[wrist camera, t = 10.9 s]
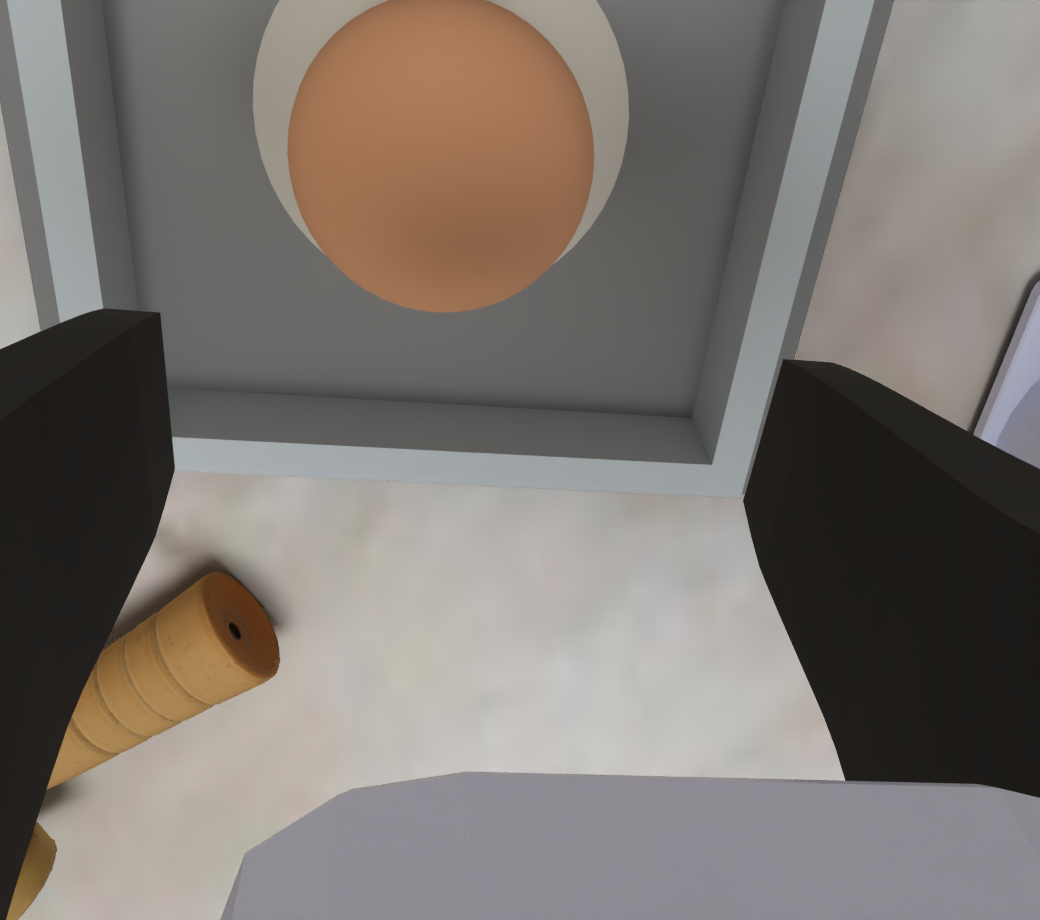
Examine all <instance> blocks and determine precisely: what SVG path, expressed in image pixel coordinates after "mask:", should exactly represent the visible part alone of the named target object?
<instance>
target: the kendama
mask: <svg viewBox="0 0 1040 920" xmlns="http://www.w3.org/2000/svg"><path fill="white" fill-rule="evenodd" d="M279 663H280V657H279V646H278V641H277V638H276V634H275V631H274V628H273V626H272V624H271V622H270V620H269V618H268V616H267V614H266V612H265V611H264V609H263V607H262V605H261V604H260V603H259V602H258V601H257V599H256V598H255V597H254V595H253V594H252V593H251V592H250V591H249V590H248V589H247V588H246V587H244V586H243V584H242V583H240V582H239V581H238V580H236V579H234V578H233V577H231V576H230V575H228V574H226V573H222V572H212V573H209V574H208V575H206V576H204V577H203V578H201V579H200V580H199V581H197V582H196V583H195V584H193V585H192V586H191V587H189V588H188V589H186V590H185V591H184V592H183V593H181V594H180V595H179V596H177V597H176V598H175V599H173V600H172V601H171V602H169V603H168V604H167V605H166V606H164V607H163V608H162V609H161V610H160V611H158V612H156V613H154V614H153V615H152V616H150V617H149V618H147V619H146V620H145V621H143V622H142V623H141V624H139V625H138V626H137V627H135V628H134V629H133V630H132V631H131V632H129V633H127V634H125V635H124V636H122V637H121V638H120V639H118V640H117V641H115V642H114V643H112V644H111V645H110V646H108V647H107V648H106V649H105V650H104V651H102V652H101V653H100V655H99V657H98V659H97V662H96V664H95V666H94V668H93V670H92V672H91V674H90V676H89V678H88V680H87V683H86V685H85V687H84V689H83V691H82V693H81V696H80V698H79V701H78V703H77V706H76V708H75V710H74V713H73V715H72V718H71V720H70V722H69V725H68V727H67V730H66V733H65V736H64V739H63V742H62V745H61V748H60V751H59V754H58V757H57V760H56V763H55V766H54V769H53V772H52V775H51V778H50V781H49V784H48V787H47V789H50V788H52V787H54V786H56V785H58V784H61V783H63V782H65V781H67V780H69V779H71V778H73V777H75V776H77V775H79V774H81V773H83V772H85V771H87V770H89V769H92V768H94V767H96V766H98V765H100V764H102V763H104V762H106V761H107V760H109V759H111V758H113V757H115V756H116V755H118V754H120V753H121V752H124V751H127V750H129V749H131V748H133V747H134V746H136V745H138V744H140V743H142V742H144V741H146V740H148V739H149V738H151V737H152V736H154V735H157V734H160V733H162V732H164V731H165V730H167V729H169V728H172V727H174V726H175V725H177V724H179V723H181V722H182V721H184V720H187V719H189V718H191V717H193V716H195V715H197V714H199V713H201V712H203V711H205V710H207V709H209V708H211V707H212V706H213V705H215V704H220V703H222V702H224V701H226V700H228V699H230V698H233V697H235V696H237V695H239V694H241V693H243V692H246V691H248V690H250V689H252V688H254V687H256V686H258V685H261V684H263V683H265V682H266V681H268V680H269V679H270V678H272V677H273V676H275V674H276V673H277V670H278V668H279ZM56 852H57V848H56V844H55V841H54V840H53V839H51V838H50V836H49V835H48V834H47V833H46V832H45V831H44V829H43V828H42V827H41V826H40V824H39V823H38V822H36V823H35V827H34V830H33V833H32V836H31V840H30V843H29V846H28V849H27V852H26V856H25V859H24V862H23V865H22V869H21V872H20V875H19V878H18V881H17V885H16V888H15V891H14V894H13V897H12V901H11V904H10V908H9V911H8V915H7V918H6V920H18V919H19V918H20V917H21V916H22V915H23V914H24V912H25V911H26V910H27V908H28V907H29V906H30V905H31V904H32V902H33V901H34V900H35V898H36V897H37V895H38V893H39V892H40V891H41V889H42V888H43V886H44V884H45V882H46V880H47V878H48V876H49V874H50V872H51V870H52V867H53V864H54V860H55V855H56Z"/></svg>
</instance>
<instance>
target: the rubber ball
mask: <svg viewBox="0 0 1040 920" xmlns="http://www.w3.org/2000/svg"><path fill="white" fill-rule="evenodd" d="M287 155H288V166H289V174H290V179H291V183H292V188H293V192H294V196H295V200H296V202H297V205H298V208H299V211H300V213H301V216H302V218H303V220H304V222H305V224H306V226H307V228H308V230H309V232H310V234H311V235H312V237H313V238H314V240H315V241H316V243H317V244H318V246H319V247H320V249H321V250H322V251H323V252H324V253H325V255H326V256H327V257H328V258H329V259H330V260H331V261H332V263H333V264H334V265H335V266H336V267H337V268H338V269H339V270H341V271H342V272H343V273H344V274H345V275H346V276H347V277H348V278H349V279H351V280H352V281H353V282H355V283H356V284H358V285H359V286H360V287H362V288H363V289H365V290H366V291H368V292H370V293H372V294H374V295H376V296H378V297H379V298H381V299H383V300H386V301H389V302H391V303H394V304H396V305H399V306H403V307H407V308H411V309H415V310H420V311H428V312H461V311H470V310H474V309H478V308H482V307H487V306H489V305H492V304H495V303H497V302H500V301H503V300H505V299H507V298H509V297H511V296H513V295H515V294H516V293H518V292H520V291H522V290H523V289H524V288H526V287H527V286H529V285H530V284H532V283H533V282H534V281H536V280H537V279H538V278H539V277H540V276H541V275H542V274H543V273H544V272H546V271H547V270H548V269H549V268H550V267H551V266H552V265H553V263H554V262H555V261H556V260H557V259H558V258H559V256H560V255H561V254H562V253H563V252H564V250H565V249H566V247H567V246H568V244H569V242H570V241H571V239H572V238H573V236H574V234H575V232H576V230H577V228H578V226H579V224H580V222H581V220H582V217H583V214H584V211H585V208H586V205H587V202H588V199H589V194H590V189H591V184H592V180H593V169H594V142H593V133H592V128H591V122H590V117H589V113H588V110H587V107H586V104H585V101H584V98H583V94H582V92H581V90H580V88H579V85H578V83H577V81H576V79H575V77H574V75H573V73H572V71H571V70H570V68H569V67H568V65H567V64H566V62H565V61H564V59H563V58H562V56H561V55H560V54H559V52H558V51H557V50H556V49H555V48H554V47H553V45H552V44H551V43H550V42H549V41H548V40H547V39H546V38H545V37H544V36H543V35H542V34H541V33H540V32H538V31H537V30H536V29H535V28H534V27H533V26H532V25H530V24H529V23H528V22H526V21H525V20H523V19H522V18H520V17H519V16H517V15H516V14H514V13H513V12H511V11H509V10H507V9H505V8H503V7H501V6H499V5H497V4H495V3H493V2H490V1H487V0H388V1H385V2H383V3H381V4H378V5H376V6H374V7H371V8H369V9H368V10H366V11H365V12H363V13H361V14H360V15H358V16H356V17H355V18H353V19H352V20H350V21H349V22H348V23H347V24H345V25H344V26H343V27H342V28H341V29H339V30H338V31H337V32H336V33H335V34H334V35H333V36H332V37H331V38H330V39H329V40H328V41H327V43H326V44H325V45H324V46H323V47H322V48H321V49H320V51H319V52H318V54H317V55H316V57H315V58H314V60H313V61H312V63H311V64H310V66H309V67H308V69H307V71H306V73H305V75H304V78H303V80H302V82H301V84H300V86H299V89H298V92H297V95H296V98H295V102H294V105H293V108H292V112H291V117H290V123H289V129H288V146H287Z"/></svg>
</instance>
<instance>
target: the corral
mask: <svg viewBox="0 0 1040 920" xmlns="http://www.w3.org/2000/svg"><path fill="white" fill-rule="evenodd" d="M385 1H388V0H0V104H1V109H2V115H3V121H4V126H5V132H6V137H7V143H8V149H9V154H10V160H11V166H12V171H13V177H14V183H15V188H16V194H17V199H18V205H19V211H20V216H21V222H22V228H23V233H24V239H25V245H26V250H27V256H28V261H29V267H30V273H31V278H32V284H33V290H34V295H35V301H36V307H37V312H38V318H39V324H40V329H41V331H43V330H45V329H48V328H50V327H52V326H55V325H57V324H59V323H62V322H64V321H66V320H69V319H71V318H74V317H77V316H79V315H82V314H85V313H88V312H91V311H95V310H99V309H103V308H106V309H120V310H133V311H147V312H160V315H161V325H162V336H163V346H164V357H165V368H166V378H167V389H168V399H169V410H170V421H171V431H172V442H173V453H174V463H175V470H174V471H187V472H208V473H229V474H250V475H271V476H291V477H312V478H333V479H354V480H375V481H396V482H416V483H437V484H458V485H479V486H500V487H521V488H541V489H562V490H583V491H604V492H625V493H646V494H666V495H687V496H708V497H729V498H741V495H742V494H745V493H746V489H747V485H748V482H749V478H750V475H751V471H752V468H753V464H754V461H755V457H756V453H757V450H758V446H759V443H760V439H761V436H762V432H763V429H764V425H765V422H766V418H767V414H768V411H769V407H770V404H771V400H772V397H773V393H774V390H775V386H776V382H777V379H778V375H779V372H780V368H781V365H782V361H783V359H789V360H794V357H795V353H796V350H797V346H798V343H799V339H800V335H801V332H802V328H803V325H804V321H805V318H806V314H807V310H808V307H809V303H810V300H811V296H812V292H813V289H814V285H815V282H816V278H817V274H818V271H819V267H820V264H821V260H822V257H823V253H824V249H825V246H826V242H827V239H828V235H829V231H830V228H831V224H832V221H833V217H834V214H835V210H836V206H837V203H838V199H839V196H840V192H841V188H842V185H843V181H844V178H845V174H846V170H847V167H848V163H849V160H850V156H851V153H852V149H853V145H854V142H855V138H856V135H857V131H858V127H859V124H860V120H861V117H862V113H863V109H864V106H865V102H866V99H867V95H868V92H869V88H870V84H871V81H872V77H873V74H874V70H875V66H876V63H877V59H878V56H879V52H880V49H881V45H882V41H883V38H884V34H885V31H886V27H887V23H888V20H889V16H890V13H891V9H892V5H893V2H894V0H487V1H490V2H493V3H495V4H497V5H499V6H501V7H503V8H505V9H507V10H509V11H511V12H513V13H514V14H516V15H517V16H519V17H520V18H522V19H523V20H525V21H526V22H528V23H529V24H530V25H532V26H533V27H534V28H535V29H536V30H537V31H538V32H540V33H541V34H542V35H543V36H544V37H545V38H546V39H547V40H548V41H549V42H550V43H551V44H552V45H553V47H554V48H555V49H556V50H557V51H558V52H559V54H560V55H561V56H562V58H563V59H564V61H565V62H566V64H567V65H568V67H569V68H570V70H571V71H572V73H573V75H574V77H575V79H576V81H577V83H578V85H579V88H580V90H581V92H582V94H583V98H584V101H585V104H586V107H587V110H588V113H589V117H590V122H591V128H592V133H593V142H594V169H593V180H592V184H591V189H590V194H589V199H588V202H587V205H586V208H585V211H584V214H583V217H582V220H581V222H580V224H579V226H578V228H577V230H576V232H575V234H574V236H573V238H572V239H571V241H570V242H569V244H568V246H567V247H566V249H565V250H564V252H563V253H562V254H561V255H560V256H559V258H558V259H557V260H556V261H555V262H554V263H553V265H552V266H551V267H550V268H549V269H548V270H547V271H546V272H544V273H543V274H542V275H541V276H540V277H539V278H538V279H537V280H536V281H534V282H533V283H532V284H530V285H529V286H527V287H526V288H524V289H523V290H522V291H520V292H518V293H516V294H515V295H513V296H511V297H509V298H507V299H505V300H503V301H500V302H497V303H495V304H492V305H489V306H487V307H482V308H478V309H474V310H470V311H461V312H428V311H420V310H415V309H411V308H407V307H403V306H399V305H396V304H394V303H391V302H389V301H386V300H383V299H381V298H379V297H378V296H376V295H374V294H372V293H370V292H368V291H366V290H365V289H363V288H362V287H360V286H359V285H358V284H356V283H355V282H353V281H352V280H351V279H349V278H348V277H347V276H346V275H345V274H344V273H343V272H342V271H341V270H339V269H338V268H337V267H336V266H335V265H334V264H333V263H332V261H331V260H330V259H329V258H328V257H327V256H326V255H325V253H324V252H323V251H322V250H321V249H320V247H319V246H318V244H317V243H316V241H315V240H314V238H313V237H312V235H311V234H310V232H309V230H308V228H307V226H306V224H305V222H304V220H303V218H302V216H301V213H300V211H299V208H298V205H297V202H296V200H295V196H294V192H293V188H292V183H291V179H290V174H289V166H288V155H287V146H288V129H289V123H290V117H291V112H292V108H293V105H294V102H295V98H296V95H297V92H298V89H299V86H300V84H301V82H302V80H303V78H304V75H305V73H306V71H307V69H308V67H309V66H310V64H311V63H312V61H313V60H314V58H315V57H316V55H317V54H318V52H319V51H320V49H321V48H322V47H323V46H324V45H325V44H326V43H327V41H328V40H329V39H330V38H331V37H332V36H333V35H334V34H335V33H336V32H337V31H338V30H339V29H341V28H342V27H343V26H344V25H345V24H347V23H348V22H349V21H350V20H352V19H353V18H355V17H356V16H358V15H360V14H361V13H363V12H365V11H366V10H368V9H369V8H371V7H374V6H376V5H378V4H381V3H383V2H385Z"/></svg>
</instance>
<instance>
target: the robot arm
mask: <svg viewBox="0 0 1040 920" xmlns="http://www.w3.org/2000/svg"><path fill="white" fill-rule="evenodd" d="M174 470H175V463H174V453H173V442H172V431H171V421H170V410H169V399H168V389H167V378H166V368H165V357H164V346H163V336H162V325H161V315H160V312H147V311H133V310H120V309H106V308H103V309H99V310H95V311H91V312H88V313H85V314H82V315H79V316H77V317H74V318H71V319H69V320H66V321H64V322H62V323H59V324H57V325H55V326H52V327H50V328H48V329H45V330H43V331H41V332H38V333H36V334H34V335H32V336H29V337H27V338H25V339H23V340H20V341H18V342H16V343H14V344H11V345H9V346H7V347H4V348H2V349H0V920H6V918H7V915H8V911H9V908H10V904H11V901H12V897H13V894H14V891H15V888H16V885H17V881H18V878H19V875H20V872H21V869H22V865H23V862H24V859H25V856H26V852H27V849H28V846H29V843H30V840H31V836H32V833H33V830H34V827H35V823H36V820H37V817H38V814H39V811H40V807H41V804H42V801H43V799H44V796H45V793H46V790H47V787H48V784H49V781H50V778H51V775H52V772H53V769H54V766H55V763H56V760H57V757H58V754H59V751H60V748H61V745H62V742H63V739H64V736H65V733H66V730H67V727H68V725H69V722H70V720H71V718H72V715H73V713H74V710H75V708H76V706H77V703H78V701H79V698H80V696H81V693H82V691H83V689H84V687H85V685H86V683H87V680H88V678H89V676H90V674H91V672H92V670H93V668H94V666H95V664H96V662H97V659H98V657H99V655H100V653H101V651H102V649H103V647H104V645H105V643H106V641H107V639H108V636H109V634H110V632H111V630H112V628H113V626H114V624H115V622H116V620H117V618H118V615H119V613H120V611H121V609H122V607H123V605H124V603H125V601H126V599H127V597H128V595H129V592H130V590H131V588H132V586H133V584H134V582H135V580H136V577H137V575H138V573H139V571H140V569H141V567H142V565H143V562H144V560H145V558H146V556H147V554H148V552H149V549H150V547H151V545H152V543H153V540H154V538H155V536H156V532H157V529H158V526H159V523H160V519H161V516H162V513H163V509H164V506H165V503H166V499H167V495H168V492H169V488H170V484H171V481H172V477H173V473H174ZM743 502H744V506H745V511H746V515H747V519H748V524H749V528H750V532H751V537H752V541H753V544H754V548H755V552H756V555H757V559H758V563H759V566H760V569H761V571H762V574H763V576H764V579H765V581H766V584H767V586H768V589H769V591H770V593H771V596H772V598H773V600H774V603H775V605H776V608H777V610H778V612H779V615H780V617H781V619H782V622H783V624H784V626H785V629H786V631H787V633H788V635H789V638H790V640H791V642H792V645H793V647H794V649H795V651H796V654H797V656H798V658H799V661H800V663H801V665H802V668H803V670H804V672H805V674H806V677H807V679H808V681H809V684H810V686H811V688H812V690H813V693H814V695H815V697H816V700H817V702H818V704H819V707H820V709H821V711H822V713H823V716H824V719H825V721H826V724H827V727H828V729H829V732H830V734H831V737H832V740H833V742H834V745H835V748H836V751H837V754H838V757H839V761H840V764H841V767H842V771H843V774H844V777H845V781H830V780H788V779H747V778H706V777H665V776H624V775H582V774H541V773H500V772H461V773H454V774H448V775H441V776H435V777H428V778H422V779H415V780H409V781H402V782H396V783H389V784H383V785H376V786H370V787H363V788H357V789H352V790H349V791H347V792H344V793H342V794H339V795H337V796H336V797H334V798H332V799H331V800H329V801H328V802H326V803H324V804H323V805H321V806H320V807H318V808H316V809H315V810H313V811H312V812H310V813H308V814H307V815H305V816H304V817H302V818H300V819H299V820H297V821H296V822H294V823H292V824H291V825H289V826H288V827H286V828H284V829H283V830H281V831H280V832H278V833H276V834H275V835H273V836H272V837H270V838H268V839H267V840H265V841H264V842H262V843H261V844H259V845H257V846H256V847H254V848H253V849H251V850H249V851H248V852H246V853H245V855H244V858H243V861H242V863H241V866H240V869H239V871H238V874H237V877H236V879H235V882H234V885H233V887H232V890H231V893H230V896H229V898H228V901H227V904H226V906H225V909H224V912H223V914H222V917H221V920H1040V280H1039V281H1038V282H1037V283H1036V285H1035V286H1034V288H1033V289H1032V291H1031V293H1030V296H1029V298H1028V301H1027V303H1026V306H1025V308H1024V311H1023V313H1022V316H1021V318H1020V321H1019V323H1018V325H1017V328H1016V330H1015V333H1014V335H1013V338H1012V340H1011V343H1010V345H1009V348H1008V350H1007V352H1006V355H1005V357H1004V360H1003V362H1002V365H1001V367H1000V370H999V372H998V375H997V377H996V380H995V382H994V384H993V387H992V389H991V392H990V394H989V397H988V399H987V402H986V404H985V407H984V409H983V411H982V414H981V416H980V419H979V421H978V424H977V426H976V429H975V431H974V434H971V433H969V432H967V431H965V430H964V429H962V428H960V427H958V426H956V425H955V424H953V423H951V422H949V421H947V420H945V419H944V418H942V417H940V416H938V415H936V414H935V413H933V412H931V411H929V410H927V409H926V408H924V407H922V406H920V405H919V404H917V403H915V402H913V401H911V400H909V399H908V398H906V397H904V396H902V395H900V394H899V393H897V392H895V391H893V390H891V389H889V388H888V387H886V386H884V385H882V384H880V383H878V382H876V381H874V380H872V379H870V378H868V377H866V376H864V375H862V374H860V373H858V372H856V371H853V370H851V369H849V368H846V367H843V366H841V365H838V364H835V363H829V362H816V361H803V360H789V359H783V361H782V365H781V368H780V372H779V375H778V379H777V382H776V386H775V390H774V393H773V397H772V400H771V404H770V407H769V411H768V414H767V418H766V422H765V425H764V429H763V432H762V436H761V439H760V443H759V446H758V450H757V453H756V457H755V461H754V464H753V468H752V471H751V475H750V478H749V482H748V485H747V489H746V493H745V496H744V500H743Z"/></svg>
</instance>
